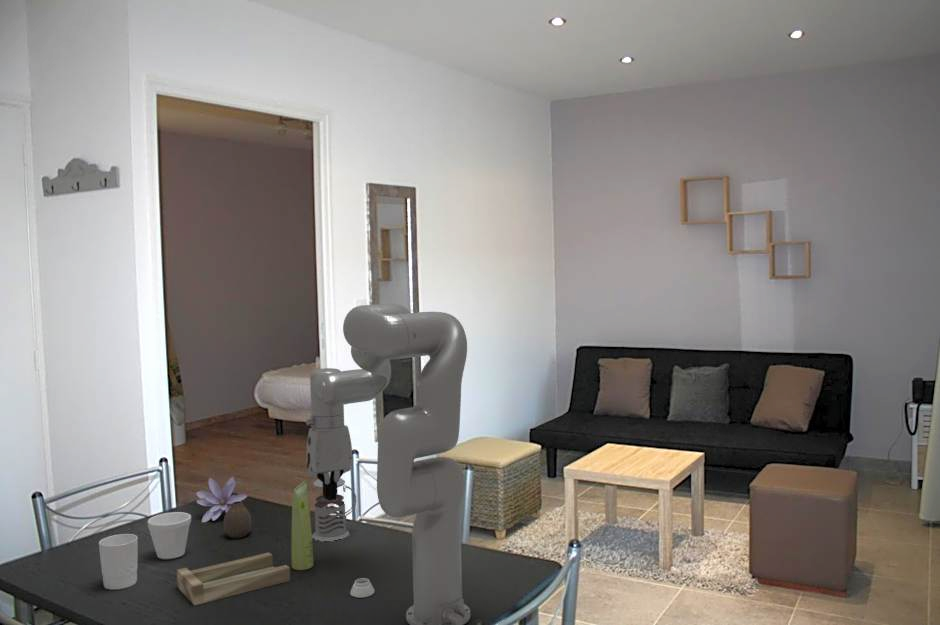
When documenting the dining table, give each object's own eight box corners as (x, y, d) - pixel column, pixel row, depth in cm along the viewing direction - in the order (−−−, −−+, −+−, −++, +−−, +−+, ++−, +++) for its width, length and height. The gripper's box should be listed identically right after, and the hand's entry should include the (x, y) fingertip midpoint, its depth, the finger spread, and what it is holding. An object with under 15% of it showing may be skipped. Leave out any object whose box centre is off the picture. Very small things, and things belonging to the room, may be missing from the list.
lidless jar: (359, 601, 170) (379, 594, 174) (359, 587, 170) (378, 580, 174) (345, 594, 174) (365, 587, 177) (345, 581, 174) (364, 574, 177)
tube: (318, 568, 189) (315, 484, 187) (297, 573, 186) (294, 488, 185) (308, 561, 193) (305, 479, 192) (287, 566, 191) (284, 483, 189)
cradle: (290, 580, 182) (289, 563, 181) (194, 605, 169) (193, 586, 169) (269, 565, 191) (268, 548, 191) (177, 587, 179) (176, 569, 179)
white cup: (128, 574, 187) (126, 531, 187) (146, 582, 182) (144, 538, 182) (94, 585, 181) (92, 541, 181) (112, 594, 176) (109, 548, 176)
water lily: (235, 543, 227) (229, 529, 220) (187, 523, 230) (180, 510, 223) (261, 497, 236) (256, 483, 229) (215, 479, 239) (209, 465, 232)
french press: (308, 531, 214) (305, 437, 213) (352, 526, 219) (349, 433, 217) (315, 543, 205) (311, 444, 204) (360, 537, 209) (358, 440, 208)
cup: (140, 561, 195) (138, 523, 195) (165, 547, 205) (163, 510, 204) (177, 564, 193) (175, 526, 192) (201, 549, 203) (199, 513, 202)
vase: (222, 534, 214) (221, 500, 214) (249, 529, 217) (248, 497, 217) (226, 542, 208) (225, 508, 207) (254, 537, 211) (252, 504, 210)
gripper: (304, 428, 185) (307, 508, 186) (364, 419, 193) (366, 496, 194) (291, 423, 191) (294, 501, 192) (349, 415, 199) (351, 489, 201)
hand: (330, 498), depth 193 cm, fingers closed
